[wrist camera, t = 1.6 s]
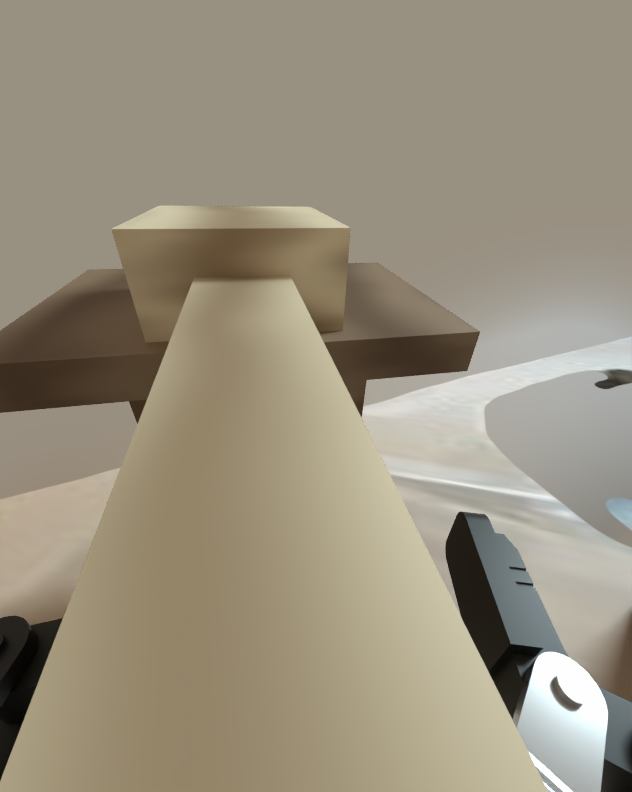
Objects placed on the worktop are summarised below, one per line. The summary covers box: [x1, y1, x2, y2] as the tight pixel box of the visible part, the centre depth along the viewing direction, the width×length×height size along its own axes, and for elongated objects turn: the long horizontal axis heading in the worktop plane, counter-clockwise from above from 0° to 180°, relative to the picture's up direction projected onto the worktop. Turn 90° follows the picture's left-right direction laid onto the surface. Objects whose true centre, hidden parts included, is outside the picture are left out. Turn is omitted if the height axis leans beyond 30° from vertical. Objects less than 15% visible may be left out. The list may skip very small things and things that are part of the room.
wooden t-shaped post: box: [0, 263, 480, 424], centre depth 27 cm, size 20×13×32 cm, turn 101°
